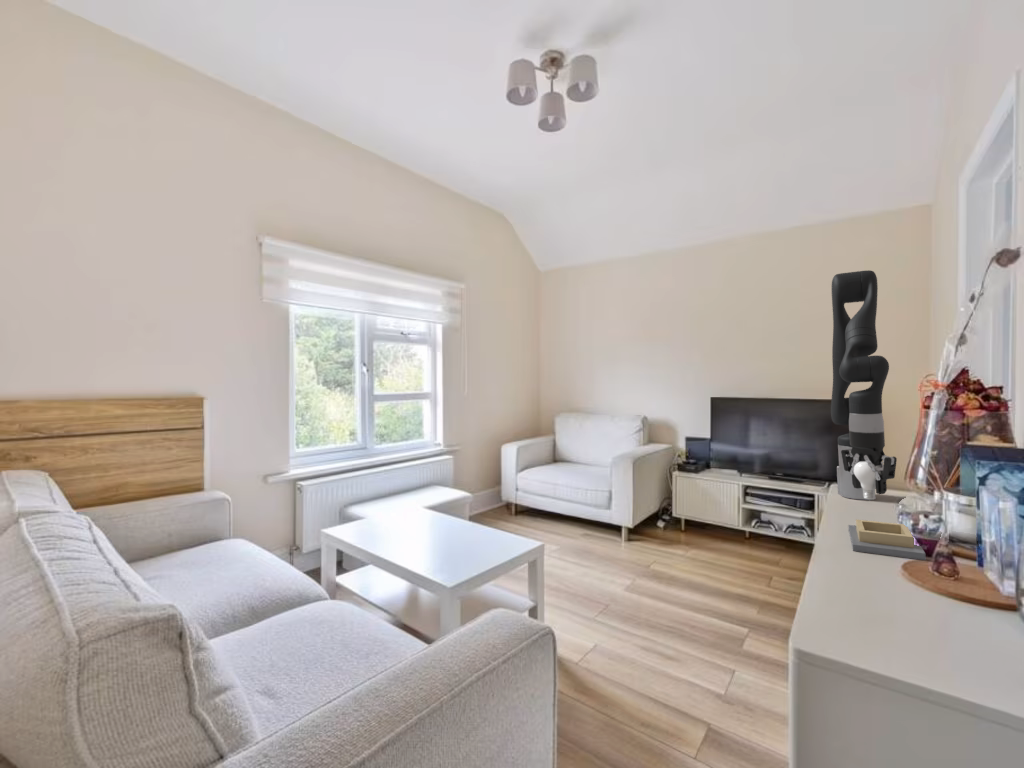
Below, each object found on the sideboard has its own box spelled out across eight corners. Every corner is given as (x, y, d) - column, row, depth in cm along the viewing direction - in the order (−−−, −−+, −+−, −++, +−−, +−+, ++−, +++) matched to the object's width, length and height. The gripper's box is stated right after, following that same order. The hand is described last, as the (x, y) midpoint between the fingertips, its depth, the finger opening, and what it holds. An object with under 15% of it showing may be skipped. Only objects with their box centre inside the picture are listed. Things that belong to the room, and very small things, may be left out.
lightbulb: (860, 503, 122) (859, 462, 121) (850, 496, 128) (849, 457, 127) (889, 503, 120) (887, 462, 120) (877, 496, 126) (875, 457, 126)
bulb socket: (848, 530, 122) (847, 515, 122) (912, 537, 115) (911, 521, 115) (853, 550, 108) (852, 534, 108) (925, 560, 101) (924, 542, 101)
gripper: (905, 431, 117) (907, 495, 117) (853, 425, 131) (855, 483, 131) (881, 433, 115) (884, 499, 116) (831, 427, 130) (833, 486, 130)
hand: (869, 490), depth 124 cm, fingers closed on lightbulb, 6 cm apart
